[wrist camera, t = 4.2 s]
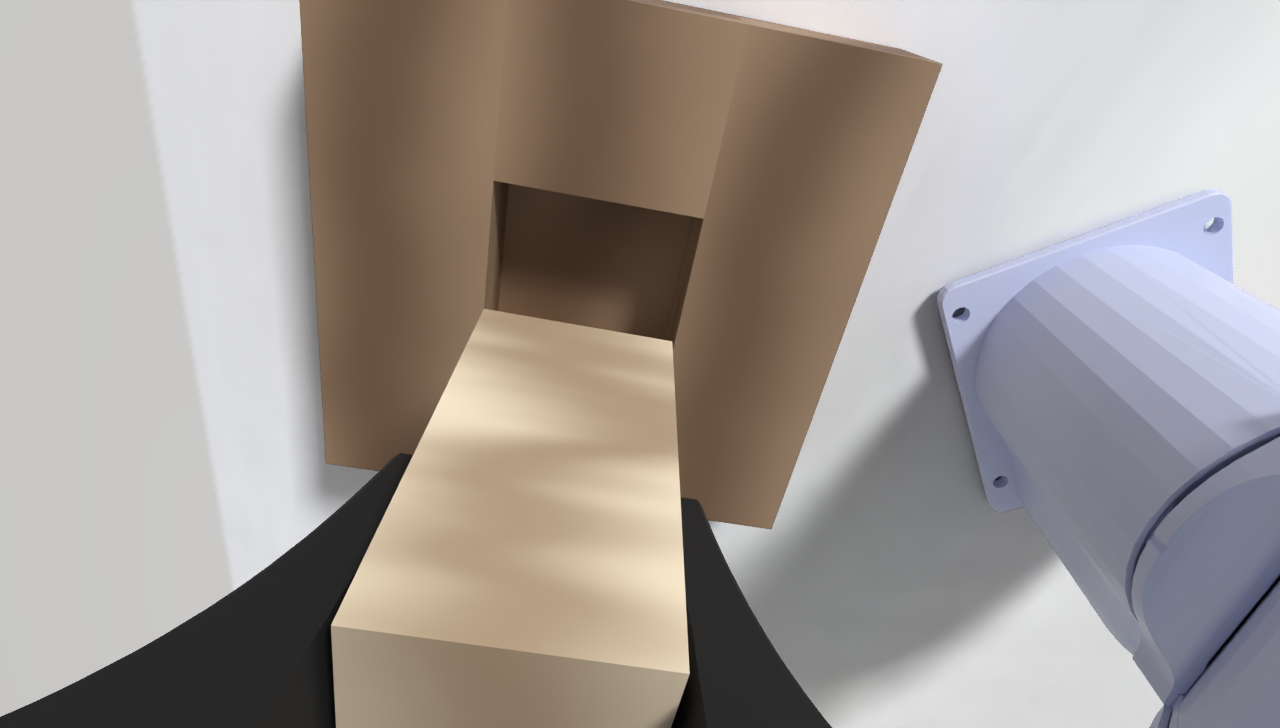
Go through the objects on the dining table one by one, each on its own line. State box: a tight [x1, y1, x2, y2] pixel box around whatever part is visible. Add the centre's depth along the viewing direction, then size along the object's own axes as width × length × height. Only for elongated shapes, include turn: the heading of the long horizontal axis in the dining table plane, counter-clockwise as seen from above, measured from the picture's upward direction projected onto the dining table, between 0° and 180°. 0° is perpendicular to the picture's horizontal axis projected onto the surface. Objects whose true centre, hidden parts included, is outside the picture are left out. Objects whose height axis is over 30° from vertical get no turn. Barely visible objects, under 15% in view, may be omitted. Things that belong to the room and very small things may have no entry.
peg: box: [331, 309, 690, 728], centre depth 12 cm, size 4×4×8 cm
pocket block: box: [300, 0, 942, 529], centre depth 20 cm, size 14×14×3 cm
